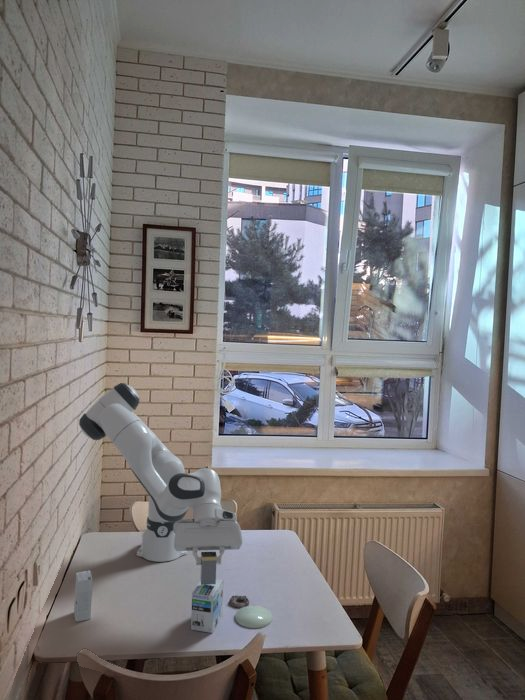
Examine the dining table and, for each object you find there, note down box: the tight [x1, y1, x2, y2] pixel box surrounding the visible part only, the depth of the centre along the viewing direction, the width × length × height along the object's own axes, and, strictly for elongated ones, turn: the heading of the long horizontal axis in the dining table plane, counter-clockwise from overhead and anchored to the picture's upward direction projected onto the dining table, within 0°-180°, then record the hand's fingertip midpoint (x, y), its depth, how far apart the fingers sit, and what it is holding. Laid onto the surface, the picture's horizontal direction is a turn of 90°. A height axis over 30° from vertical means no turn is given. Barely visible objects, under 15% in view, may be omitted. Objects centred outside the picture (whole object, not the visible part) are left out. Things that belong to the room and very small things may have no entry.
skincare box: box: [73, 570, 94, 622], centre depth 156 cm, size 6×4×12 cm
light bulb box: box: [190, 578, 224, 634], centre depth 155 cm, size 11×7×11 cm, turn 168°
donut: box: [229, 595, 250, 609], centre depth 167 cm, size 8×8×2 cm
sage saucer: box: [235, 605, 273, 629], centre depth 158 cm, size 11×11×1 cm
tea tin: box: [199, 551, 218, 585], centre depth 154 cm, size 4×4×8 cm
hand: (208, 564), depth 154 cm, fingers closed on tea tin, 4 cm apart
